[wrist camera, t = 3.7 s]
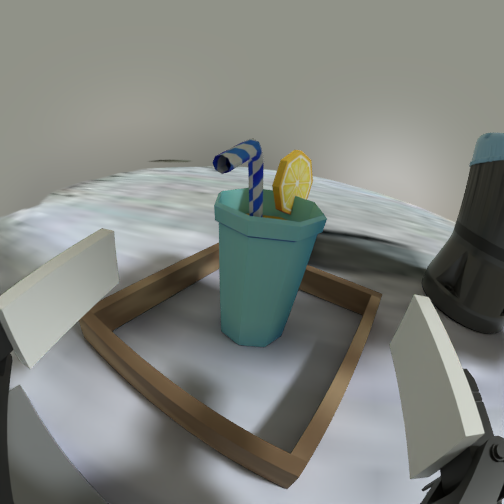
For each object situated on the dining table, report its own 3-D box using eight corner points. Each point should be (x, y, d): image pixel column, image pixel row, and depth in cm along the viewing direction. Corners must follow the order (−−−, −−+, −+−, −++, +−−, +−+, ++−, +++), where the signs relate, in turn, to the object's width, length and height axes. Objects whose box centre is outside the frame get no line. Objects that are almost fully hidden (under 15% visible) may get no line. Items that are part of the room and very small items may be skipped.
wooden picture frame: (230, 255, 34) (232, 236, 33) (373, 313, 27) (382, 293, 25) (84, 337, 19) (76, 312, 18) (287, 489, 11) (299, 477, 10)
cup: (262, 414, 16) (326, 156, 9) (158, 368, 18) (146, 133, 11) (309, 302, 27) (345, 148, 21) (238, 279, 30) (256, 131, 23)
